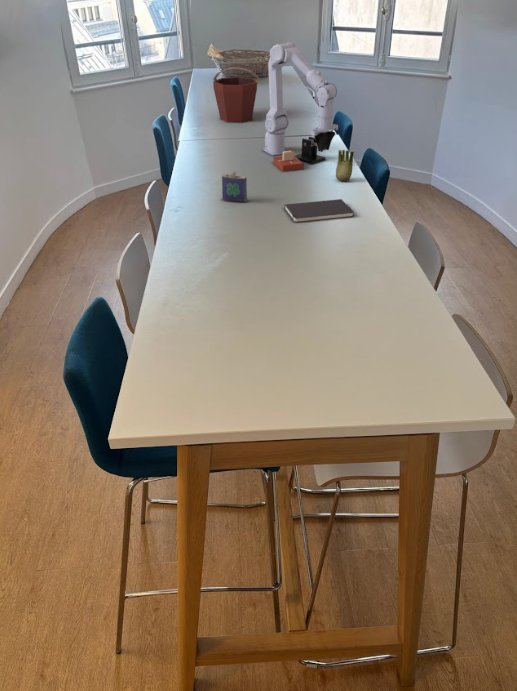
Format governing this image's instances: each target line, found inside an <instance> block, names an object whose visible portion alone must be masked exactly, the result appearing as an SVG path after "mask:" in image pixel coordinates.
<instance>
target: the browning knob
mask: <svg viewBox="0 0 517 691" xmlns="http://www.w3.org/2000/svg"><path fill="white" fill-rule="evenodd" d="M294 155H295V151H294V150H293V149H290V150H285V151H283V154H282V156H283V161H288V160H294Z"/></svg>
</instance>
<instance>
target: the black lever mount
mask: <svg viewBox="0 0 517 691" xmlns="http://www.w3.org/2000/svg"><path fill="white" fill-rule="evenodd" d="M308 139H311V140H314V143H317V142H316V140H315V137H314V136H308V138H302V139H301V153H298V154H294V156H295V157H296V158H297V159H299V160H300V161H301V162H302V163H305V164H308V165H314V164H318V163H321V162H324V161H326V157H325V156H322V155H319V154H318V147H317V146H312V147H311V140H308Z"/></svg>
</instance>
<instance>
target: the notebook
mask: <svg viewBox="0 0 517 691" xmlns="http://www.w3.org/2000/svg"><path fill="white" fill-rule="evenodd" d="M284 210H285V211H286V213H287V215H289V217H290V219H291V220H292V221H293V222H294V223H302V222H303V223H304V222H312V221H313V222H314V221H323V220H332V219H344V218H352V217H354V210H353V209H352V208H351V207H350V206H349V205H348V204H347V203H346V202H345V201H344V200H343V199H342V198H339V199H338V198H337V199H328V200H318V201H308V202H296V203H287V204H284Z"/></svg>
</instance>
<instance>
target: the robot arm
mask: <svg viewBox="0 0 517 691" xmlns="http://www.w3.org/2000/svg"><path fill="white" fill-rule="evenodd" d="M287 63H288V64H293V65H294V66H295V67H296V68H297V69H298V70H299V71H300V72H301V73H302V74H303V75H304V76H305V77H306V78H305V79H306V82H307V83H308V84H309V86H310V87H311V88H312V89H313V90H314V91H315V93H316V98H317V99H318V114H317V115H318V118H317V127H315V128H314V129H312V130H310V137H314V138H315V140H316V142H317V152H321V153H323V151H324V150H323V149H324V142H325V143H326V144H327V146H328V147H327V149H326V150H325V151H329V150H330V147H331V143H332V141H333V139H334V137H335V136H336V131H338V130H339V124H335V123H334V124H333V115H334V100H335V98H336V96H337V94H338V89H337V87H336V86H335V84H334V83H333V82H329V80H328V79H326V78H325V77H324V76H323V75H322V72H321V70H318V69H313V68H312V67H311V65H310V64H309V63H308V61H307V60H306V59H305V58H304V56H303V55H302V53H301V52H300V48H299V47H298V46H296V44H295V43H294V42H292V41H289V42H285V43H280V44H279V43H278V44H274V45H273V46H272V48H270V50H269V60H268V64H267V67H268V85H269V86H268V87H269V108H270V109H269V110H268V112H267V113H266V118H265V123H264V127H265V130H266V132H265V134H264V148H262V150H263V151H264V152H266V153H267V154H269V155H270V156H278V155H280V156H281V155H283V151H286V149H285V147H286V146H285V145H286V131H287V128H288V127H289V125H290V124H289V123H290V122H289V118H288V113H287V110H286V109H285V108H284V97H283V96H284V94H283V68H284V66H285V65H286V64H287Z"/></svg>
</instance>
